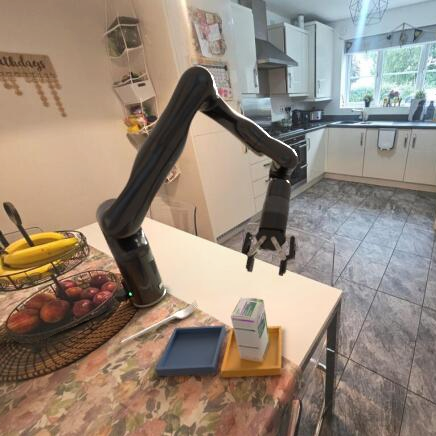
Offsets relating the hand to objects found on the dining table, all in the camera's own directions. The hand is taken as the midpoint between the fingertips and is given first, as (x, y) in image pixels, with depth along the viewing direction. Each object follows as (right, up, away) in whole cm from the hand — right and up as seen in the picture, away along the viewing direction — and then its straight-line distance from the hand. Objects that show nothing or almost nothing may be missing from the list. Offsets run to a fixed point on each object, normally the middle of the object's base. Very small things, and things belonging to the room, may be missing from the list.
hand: (264, 273), depth 63 cm
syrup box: (-2, -18, -3) cm, 19 cm away
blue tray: (-17, -19, -3) cm, 26 cm away
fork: (-29, -16, +6) cm, 34 cm away
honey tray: (-2, -19, -3) cm, 19 cm away
